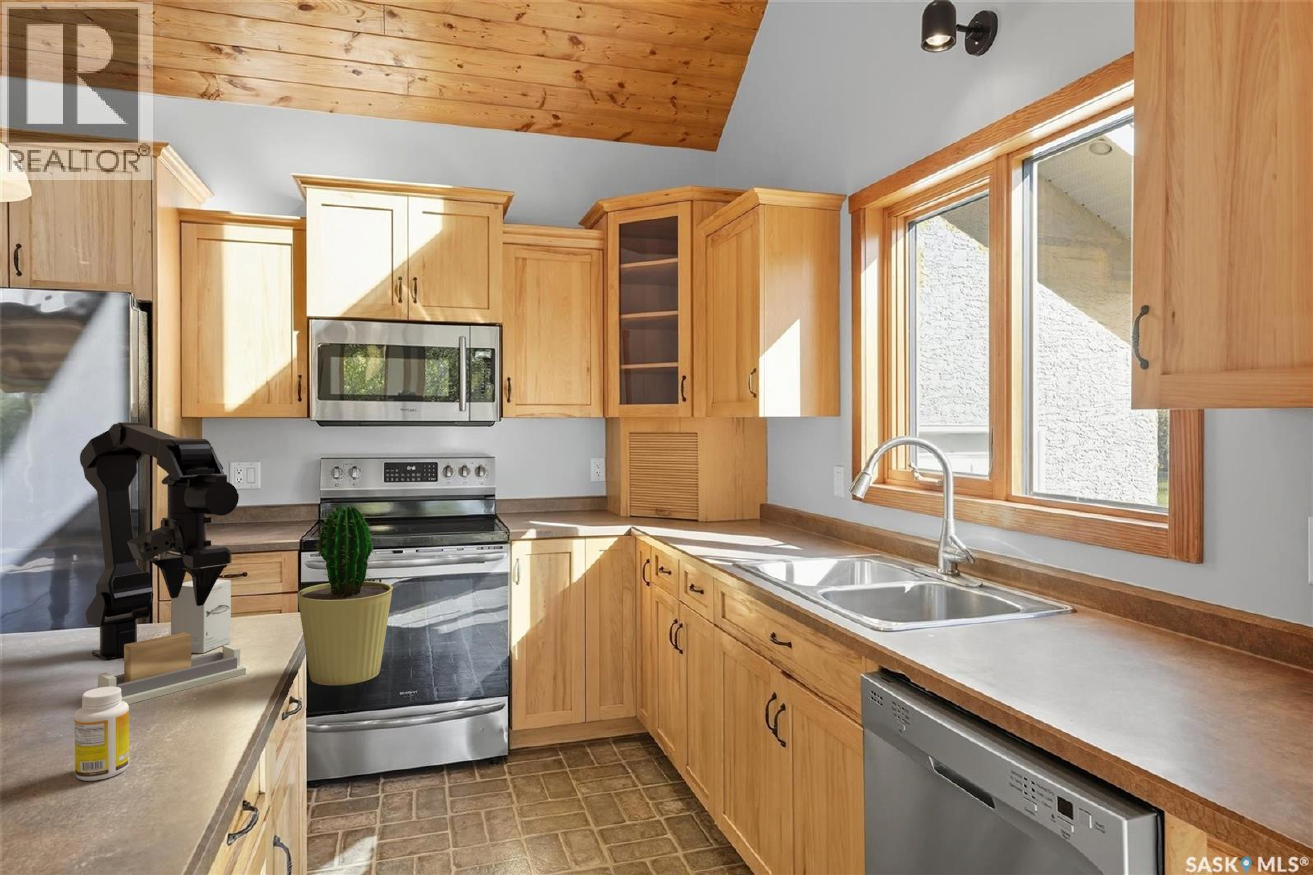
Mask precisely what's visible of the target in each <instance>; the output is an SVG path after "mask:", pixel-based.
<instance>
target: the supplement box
mask: <svg viewBox="0 0 1313 875" xmlns="http://www.w3.org/2000/svg"><path fill="white" fill-rule="evenodd" d="M231 620H232V579H222V578H220V579H219V578H218V579H217V581H216V583H215V584H214V586H213V588H212V590H211V592H210V594H209V596H208V598H207V600H206V602H205V604H204V605H202V606H197V605H196V601H195V596H194V588H193V581H192V580H190V581H185V582H183V584H182V588H181V591H180V593H179V596H178V597H177V598H171V597H170V635H174V634H179V633H184V632H185V633H188V634H191V654H205V653H207V652H209V651H211V650H214V649H218V648H220V647H223V646H224V645H230V643H231V639H232V638H231V637H232V636H231V632H232V629H231V628H232V627H231V625H232V624H231V623H232V622H231Z"/></svg>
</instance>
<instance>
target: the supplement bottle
mask: <svg viewBox="0 0 1313 875" xmlns="http://www.w3.org/2000/svg"><path fill="white" fill-rule="evenodd" d="M81 697H82V698H81V699H82V702H81V705H82V706H81V707H80V708H79V709H78V710H77V711H76V712H75V714H74V769H75V770H74V772H75V777H76V778H77V779H79V780H81V781H87V782H89V781H90V782H92V781H93V782H94V781H100V780H101V781H102V780H105V779H109V778H113V777H114V776H115V777H116V776H117V775H120V774H122V773H123V772H124V771H126V769H128V768H129V765H130V760H131V759H130V706H129V705H130V704H127V703H126V702H124V701H121V700H122V699H121V698H122V696H121V688H119V687H113V686H112V687H101V688H98V687H96V688H92V689H89V690H87V691H85V692H84V693H82V696H81Z"/></svg>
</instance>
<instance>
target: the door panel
mask: <svg viewBox="0 0 1313 875" xmlns="http://www.w3.org/2000/svg"><path fill="white" fill-rule="evenodd" d="M123 657H124V658H123V662H124V664H123V669H124V671H123V674H124V683H126V682H130V681H134V680H138V679H142V678H147V677H151V676H155V675H159V674H163V673H167V672H172V671H176V670H180V669H184V668H188V667H191V658H192V653H191V634H188V633H185V632H184V633H179V634H174V635H171V634H170V635H165V636H161V637H160V636H159V637H155V638H150V639H145V640H144V639H143V640H141V641H137V642H135V643H130V644H125V645H124V656H123Z"/></svg>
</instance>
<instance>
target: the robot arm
mask: <svg viewBox="0 0 1313 875" xmlns="http://www.w3.org/2000/svg"><path fill="white" fill-rule="evenodd" d="M214 449H215V448H214V447H213V446H212V444H211V443H210V441H209V440H208V439H206V438H201V437H200V438H199V437H198V438H196V437H177V436H174V435H173V434H169V433H165V432H164V431H161V430H158V429H156V428H153V427H149V426H148V425H147V424H145V423H142V422H139V421H138V422H137V421H135V422H131V421H130V422H128V421H127V422H117V423H113V424H112V425H111V427H110V428H108V430H106V431H104V432H102V433H101V434H99V435H97V436H94V437H93V438H91V439H89V441H88V442H87V443H86V445H85V446H84V447H83V449H82V450H81V452H80V454H79V462H80V466H81V467H82V469H83V473H84V474H83V475H84V478H85V480H86V481H87V482H88V483H89V484H90V486H91V487H92V488H94V490H95V491H96V493H97V501H98V503H97V504H98V513H99V522H100V532H101V539H102V540H101V541H102V542H101V543H102V550H103V552H102V553H103V562H104V570H103V571H102V573H101V575H100V576H99V578H98V580H97V581H96V584H95V596H94V597H93V599H92V601H91V603H90V604H89V605H88V607H87V609H86V610H85V618H86V623H87V624H89V625H92V626H96V627H99V649H96V650H92V651H91V654H92V655H95V656H97V657H99V658H101V659H103V660H112V659H116V658H120V657H124V645H125V644H130V643H135V642H138V619H142V618H149V617H150V614H151V609H152V604H153V601H154V600H153V599H154V591H153V588H152V585H151V584H152V582H151V581H152V580H151V574H150V572H149V571H148V570H147V571H144V570H143V569H142V568H141V566H139V565H138V564H137V560H141V562H146V561H148V562H150V563H153V565H155V566H156V567H158V568H159V569H160V571H161V574H162V577H163V579H164V583H165V586H166V589H167V592H168V594H169V597H170V599H171V598H177V597H178V596H179V593H180V591H181V588H182V584H183V583H184V580H185V578H186V573H187V574H188V575H190V576H191V581H193V588H194V596H195V601H196V605H197V606H202V605H204V604H205V602H206V600H207V598H208V596H209V594H210V592H211V590H212V588H213V586H214V584H215V583H216V581H217V579H219V577H220V576H221V574H222V572H223V571H224V569H226V568H227V567H228V565H229V564H232V551H231V550H230V549H229V548H227V546H222V545H213V544H212V540H210V539H207V524H211V523H212V517H211V516H212V515H213V516H220V517H222V516H226V515H228V514H230V513H232V512H233V511H234V510H235V509H236V508H237V506H238V504H239V498H240V496H239V495H240V494H239V492H238V490H237V488H236V486H234V485H233V484H232V483H231V482H229V481H228V475H227V474H225V471H224V467H223V465H222V463H221V462H220V460H219V459H218V458H219V457H218V456H217V454H216V451H215V450H214ZM145 455H148V456H150V457H152V458H155V459H156V465H157V466H158V467H160V468H161V469H162V470H164V471H165V472H166V473H167V474H168V475H166V476H164V478H163V479H162V480H161V484H162V485H166V486H167V515H166V516H167V517H162V518H161V520H160V526H159V527H158V528H156V529H153V530H149V531H146V532H145V533H142V534H140V535H137V536H136V537H134V525H133V519H132V518H133V517H132V510H131V498H130V491H129V488H130V486H131V483H132V482H133V480H134V479H135V477H136V476H137V473H138V464H139V462H140V461H141V460H142V458H144V456H145ZM207 515H208V516H207ZM209 515H211V516H209Z"/></svg>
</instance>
